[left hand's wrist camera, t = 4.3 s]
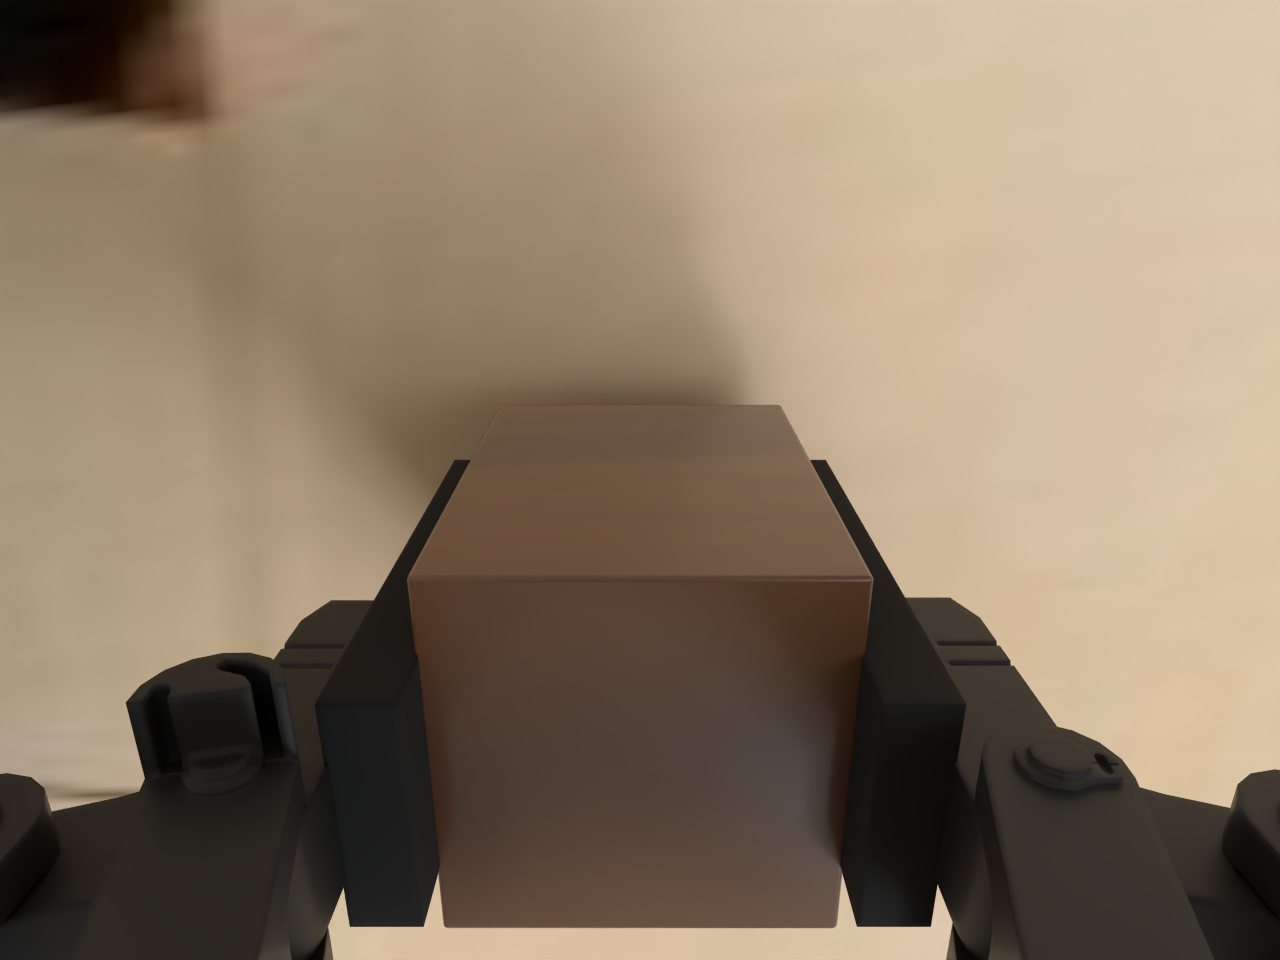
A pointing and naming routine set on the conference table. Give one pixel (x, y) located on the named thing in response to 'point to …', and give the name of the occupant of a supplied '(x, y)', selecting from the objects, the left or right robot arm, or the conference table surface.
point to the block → (640, 672)
